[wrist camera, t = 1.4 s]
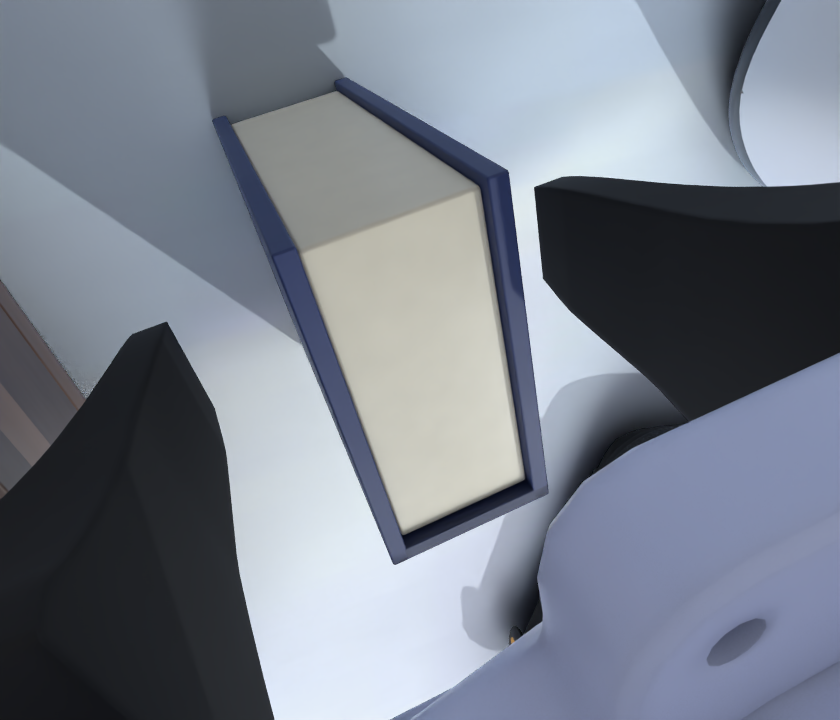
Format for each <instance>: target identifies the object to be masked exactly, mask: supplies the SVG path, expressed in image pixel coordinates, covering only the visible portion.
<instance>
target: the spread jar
mask: <svg viewBox="0 0 840 720" xmlns="http://www.w3.org/2000/svg"><path fill="white" fill-rule="evenodd" d="M729 126H730V133H731V137H732V141H733V144H734V147H735V150H736V153H737V155H738V157H739V159H740V161H741V162H742V164H743V165H744V167H745V168H746V170H747V171H748V172H749V173H750V175H751V176H752V177H753V178H754V179H755V180H756V181H757V182H758V183H759V184H760V185H762V186H763V187H768V186H797V185H812V184H824V183H835V182H840V0H767V1H766V3H765V5H764V6H763V8H762V10H761V12H760V14H759V16H758V17H757V20H756V22H755V24H754V26H753V28H752V30H751V32H750V34H749V37H748V39H747V41H746V44H745V46H744V48H743V51H742V54H741V56H740V59H739V62H738V65H737V68H736V71H735V74H734V78H733V82H732V87H731V91H730V99H729Z"/></svg>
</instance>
